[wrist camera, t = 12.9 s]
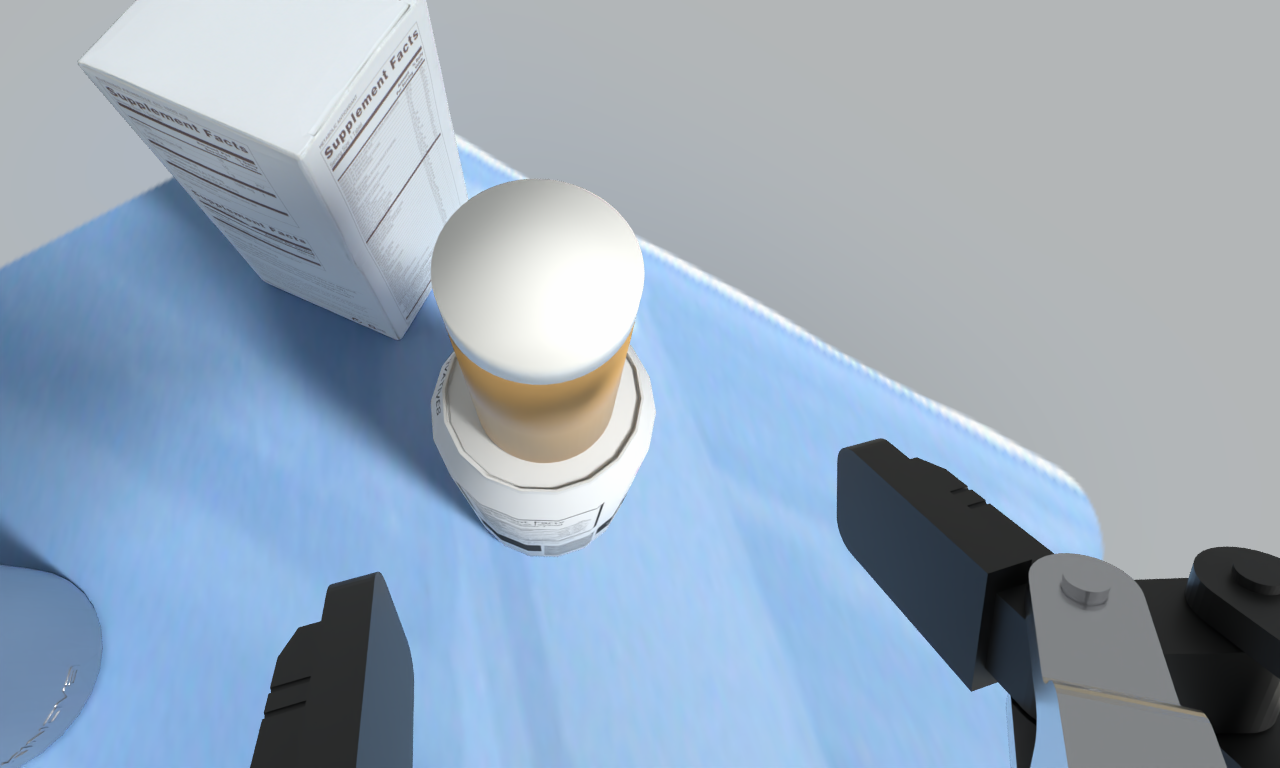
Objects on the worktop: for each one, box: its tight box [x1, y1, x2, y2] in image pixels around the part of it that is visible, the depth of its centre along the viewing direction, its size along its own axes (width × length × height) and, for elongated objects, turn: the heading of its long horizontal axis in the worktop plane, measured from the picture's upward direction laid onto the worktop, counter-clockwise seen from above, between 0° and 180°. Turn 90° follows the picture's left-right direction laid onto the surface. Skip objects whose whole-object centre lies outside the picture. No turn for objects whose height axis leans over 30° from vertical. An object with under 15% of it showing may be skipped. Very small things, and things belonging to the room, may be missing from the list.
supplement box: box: [78, 0, 468, 340], centre depth 34 cm, size 10×9×17 cm
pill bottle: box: [431, 179, 644, 463], centre depth 20 cm, size 5×5×9 cm
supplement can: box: [431, 344, 656, 557], centre depth 31 cm, size 8×8×15 cm
